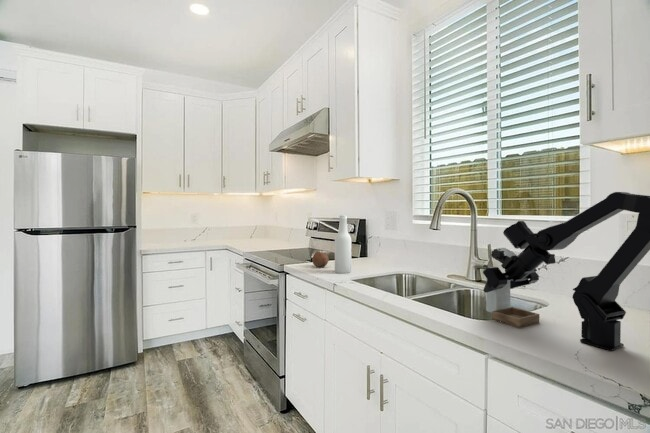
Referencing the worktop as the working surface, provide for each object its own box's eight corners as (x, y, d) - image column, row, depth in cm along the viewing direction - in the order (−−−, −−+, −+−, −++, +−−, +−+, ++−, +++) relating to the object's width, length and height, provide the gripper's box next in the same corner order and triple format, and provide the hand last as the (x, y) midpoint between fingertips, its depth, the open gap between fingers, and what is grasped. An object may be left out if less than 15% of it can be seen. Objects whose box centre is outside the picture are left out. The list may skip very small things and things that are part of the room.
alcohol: (331, 271, 177) (331, 215, 177) (343, 270, 182) (344, 215, 182) (342, 274, 170) (342, 215, 170) (354, 272, 176) (355, 215, 175)
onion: (314, 271, 194) (307, 256, 196) (328, 266, 198) (321, 250, 200) (318, 268, 185) (312, 251, 187) (333, 262, 189) (326, 246, 191)
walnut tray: (539, 322, 97) (539, 314, 97) (519, 328, 92) (519, 319, 92) (512, 314, 104) (512, 306, 104) (491, 319, 100) (492, 311, 100)
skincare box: (499, 309, 110) (499, 272, 110) (510, 312, 106) (511, 275, 106) (485, 311, 108) (485, 274, 108) (496, 314, 104) (496, 276, 104)
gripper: (530, 239, 107) (499, 267, 117) (488, 241, 100) (459, 271, 110) (555, 267, 100) (520, 295, 110) (512, 271, 93) (479, 301, 103)
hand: (494, 290), depth 109 cm, fingers open, 9 cm apart
